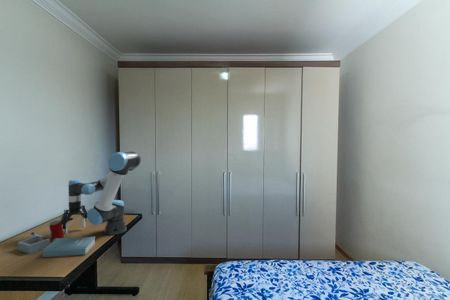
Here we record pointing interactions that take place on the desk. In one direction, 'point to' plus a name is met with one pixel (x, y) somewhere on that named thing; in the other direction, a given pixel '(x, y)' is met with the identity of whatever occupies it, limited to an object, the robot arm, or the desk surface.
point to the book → (69, 246)
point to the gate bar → (37, 235)
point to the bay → (33, 244)
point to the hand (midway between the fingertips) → (74, 229)
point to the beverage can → (56, 230)
